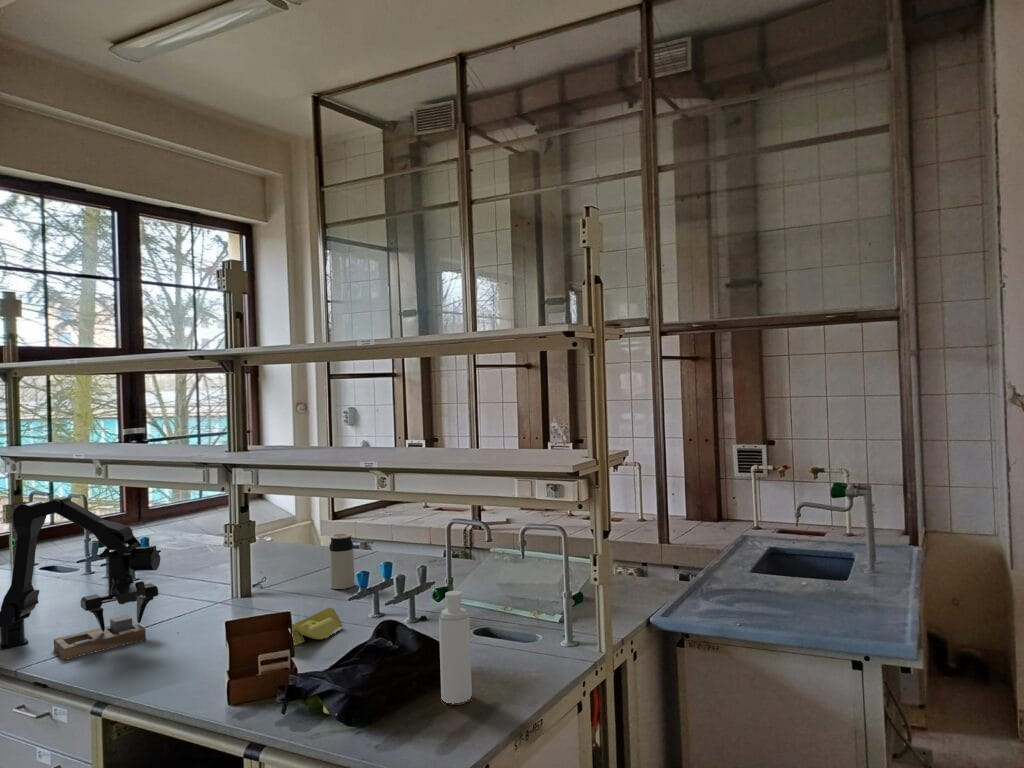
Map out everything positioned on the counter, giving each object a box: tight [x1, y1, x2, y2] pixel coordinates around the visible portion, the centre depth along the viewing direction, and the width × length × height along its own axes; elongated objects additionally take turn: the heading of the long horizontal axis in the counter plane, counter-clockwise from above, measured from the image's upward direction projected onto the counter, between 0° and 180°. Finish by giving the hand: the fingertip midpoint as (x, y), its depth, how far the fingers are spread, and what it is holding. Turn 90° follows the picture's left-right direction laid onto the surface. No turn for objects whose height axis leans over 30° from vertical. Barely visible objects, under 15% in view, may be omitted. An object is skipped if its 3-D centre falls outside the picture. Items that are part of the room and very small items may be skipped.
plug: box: [109, 614, 133, 634], centre depth 207 cm, size 4×4×6 cm
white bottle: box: [438, 590, 473, 704], centre depth 161 cm, size 7×7×25 cm
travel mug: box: [329, 532, 355, 590], centre depth 253 cm, size 8×8×18 cm
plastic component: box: [291, 606, 343, 647], centre depth 203 cm, size 20×7×10 cm
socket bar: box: [53, 620, 147, 660], centre depth 203 cm, size 11×20×3 cm, turn 134°
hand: (121, 626), depth 207 cm, fingers open, 9 cm apart
